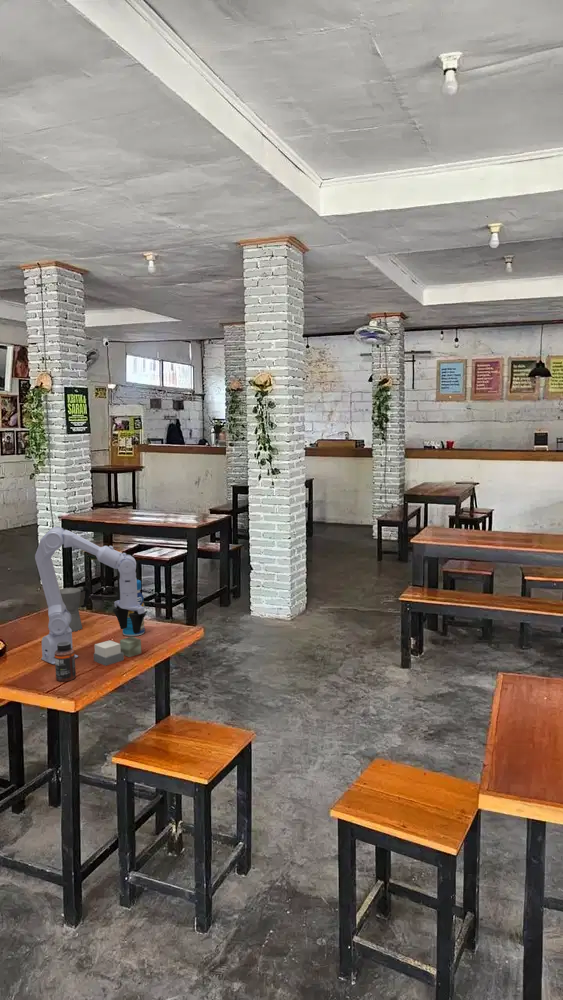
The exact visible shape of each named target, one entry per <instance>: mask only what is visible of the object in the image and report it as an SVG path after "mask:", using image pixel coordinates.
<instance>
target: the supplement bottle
mask: <svg viewBox="0 0 563 1000" xmlns="http://www.w3.org/2000/svg"><path fill="white" fill-rule="evenodd" d="M57 648H58V649H57V650H56V651H55V664H54V666H55V668H54V669H55V679H56V680H57V681H58V682H68V681H72V680H74V679H75V678H76V677H77V674H76V671H77V670H76V660H75V659H76V658H75V655H76V653H75V650H74V649H72V648H71V643H70V642H60V643H58V644H57Z"/></svg>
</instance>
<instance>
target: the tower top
mask: <svg viewBox="0 0 563 1000" xmlns="http://www.w3.org/2000/svg"><path fill="white" fill-rule="evenodd" d="M94 653H96V654H98V655H101V656H103V657H108V656H111V655H115V654H118V653H121V648H120V642H115V641H114V640H110V639H109V640H106V641H102V642H98V643H95V644H94Z"/></svg>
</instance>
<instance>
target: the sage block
mask: <svg viewBox="0 0 563 1000" xmlns="http://www.w3.org/2000/svg"><path fill="white" fill-rule="evenodd" d="M119 644H120V648H121V652H123V653H124V656H125V657H128V658H130V657H134V656H135V657H136V656H137V655H141V654H142V641H141V639H140V638H139V637H138V638H137V637H136V636H128V637H125V638H122V639H119Z"/></svg>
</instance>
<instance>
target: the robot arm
mask: <svg viewBox="0 0 563 1000" xmlns="http://www.w3.org/2000/svg"><path fill="white" fill-rule="evenodd" d="M62 545H63V548H72V547H74V548H76V549H79V550H81V551H84V552H85V553H88V554H91V555H94V556H96V559H97V561H98V562H100V563H102V564H104V565H105V566H108V567H110V568H112V569H114V570H117V571H118V573H119V579H118V581H119V600H115V601H114V602H113V603H114V607H115V608H114V609H113V610H112V612H113V613H114V615H115V617H116V618H117V621H118V624H119V625H118V626H119V628H120V630H123V629H124V628H127V617H128V612H129V610H130V611H134V613H131V614H129V616H130V619H131V621H132V627H133V632H134V634H136V633H139V632H140V629H141V624H142V621H143V619H144V620H145V616H146V614H147V613H146V611H145V606H144V607H142V606H141V605H140V602H137V580H138V579H137V572H136V569H137V561H136V559H135V557H134V556H133V555H131V554H127V553H126V552H123V553H122V552H120V551H118V550H117V549H116V550H115V549H114V546H112V545H109V546H108V545H103V546H99V545H97V544H95V543H94V542H92V541H90V540H88V539H86V538H84V537H83V536H81V535H78V534H77V533H74V532H72V531H71V530H68V529H64V528H63V527H61V526H53V527H51V528H49V530H48V531H47V532H46V533H45V534H44V535H43V537H41V539H40V540H39V544H38V547H37V549H36V552H35V554H34V559H35V563H36V566H37V571H38V574H39V577H40V581H41V585H42V589H43V593H44V596H45V600H46V604H47V608H48V609H47V610H48V612H47V614H48V616H47V617H48V619H49V620H48V625H47V626H48V630H49V631H48V632H49V633H48V634H47V635H44V636H43V637H42V639H41V655H42V656H41V658H40V659H41V660H42V661H45V662H46V663H49V664H51V665H55V651H56V650H57V649H58V648H57V644H58V643H60V642H70V643H71V648H72V649H73V648H74V647H73V632H72V629H71V628H70V627H69V624H70V622H71V614H70V613H69V612H68V611H67V609H66V606H65V604H64V603H63V600H62V596H61V593H60V590H61V588H60V586H59V583H58V578H57V574H56V571H55V566H54V563H53V560H52V557H53V555H54V554H55V552H56V551H58V550H59V549H61V547H62ZM73 650H74V649H73ZM76 658H79V655H77V654H75V659H76Z"/></svg>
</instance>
